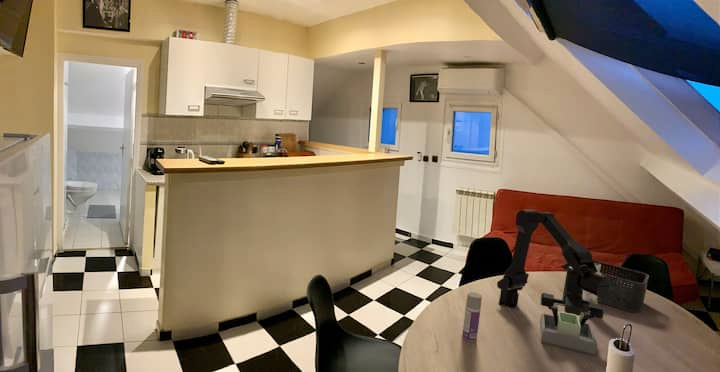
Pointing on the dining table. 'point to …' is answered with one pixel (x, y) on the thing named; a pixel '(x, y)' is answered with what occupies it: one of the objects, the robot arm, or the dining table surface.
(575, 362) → the dining table surface
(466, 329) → the container
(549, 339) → the large crate
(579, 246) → the robot arm
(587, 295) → the plastic bottle
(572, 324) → the small crate
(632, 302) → the storage bin
